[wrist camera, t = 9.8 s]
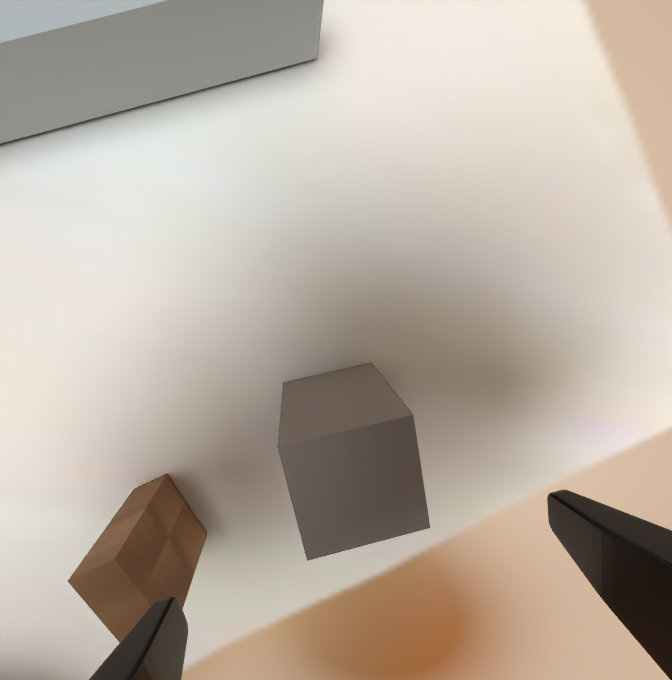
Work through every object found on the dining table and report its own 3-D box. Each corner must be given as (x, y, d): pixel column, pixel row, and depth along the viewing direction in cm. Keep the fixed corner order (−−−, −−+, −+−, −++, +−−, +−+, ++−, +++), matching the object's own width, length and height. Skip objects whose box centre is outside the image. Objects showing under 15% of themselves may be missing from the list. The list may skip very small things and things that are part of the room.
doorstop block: (384, 441, 16) (429, 527, 11) (302, 460, 16) (307, 560, 10) (370, 362, 15) (413, 414, 10) (283, 382, 15) (277, 446, 9)
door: (-36, 153, 11) (-205, 94, 8) (-73, 81, 11) (-274, -21, 7) (317, 58, 12) (328, -41, 8) (298, -14, 12) (300, -155, 8)
